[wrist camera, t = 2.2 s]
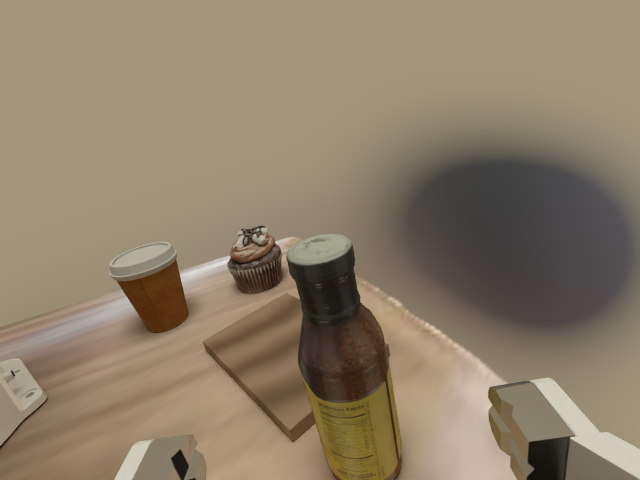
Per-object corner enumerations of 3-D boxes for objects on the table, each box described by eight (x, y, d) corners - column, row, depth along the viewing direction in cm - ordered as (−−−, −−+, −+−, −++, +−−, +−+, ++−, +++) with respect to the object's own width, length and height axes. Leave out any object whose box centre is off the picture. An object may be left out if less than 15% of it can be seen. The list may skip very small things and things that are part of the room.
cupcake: (235, 277, 65) (220, 229, 61) (284, 264, 66) (272, 217, 63) (233, 302, 56) (216, 247, 53) (290, 287, 57) (277, 233, 54)
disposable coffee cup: (163, 303, 60) (138, 242, 56) (209, 303, 57) (186, 238, 53) (123, 339, 52) (89, 270, 47) (174, 340, 49) (144, 267, 45)
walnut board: (206, 350, 45) (202, 341, 45) (288, 301, 53) (286, 293, 53) (293, 441, 31) (289, 430, 30) (389, 355, 38) (388, 344, 38)
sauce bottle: (351, 415, 32) (312, 220, 25) (415, 444, 28) (392, 225, 21) (311, 478, 27) (248, 260, 20) (381, 522, 24) (336, 275, 16)
